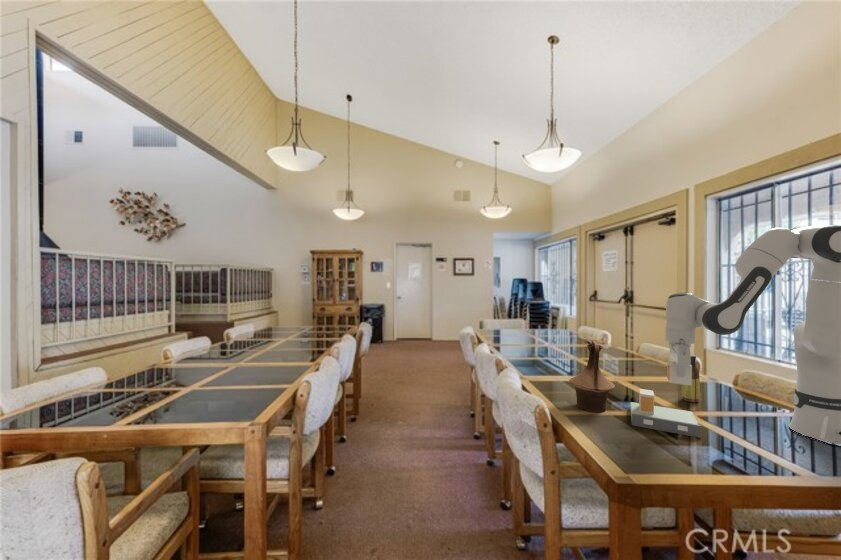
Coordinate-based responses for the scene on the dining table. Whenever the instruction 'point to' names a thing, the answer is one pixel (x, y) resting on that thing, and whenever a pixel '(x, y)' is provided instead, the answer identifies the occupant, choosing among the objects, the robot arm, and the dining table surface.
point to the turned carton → (673, 374)
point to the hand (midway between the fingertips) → (679, 374)
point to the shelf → (666, 420)
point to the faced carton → (646, 401)
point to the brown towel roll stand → (592, 382)
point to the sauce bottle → (692, 391)
